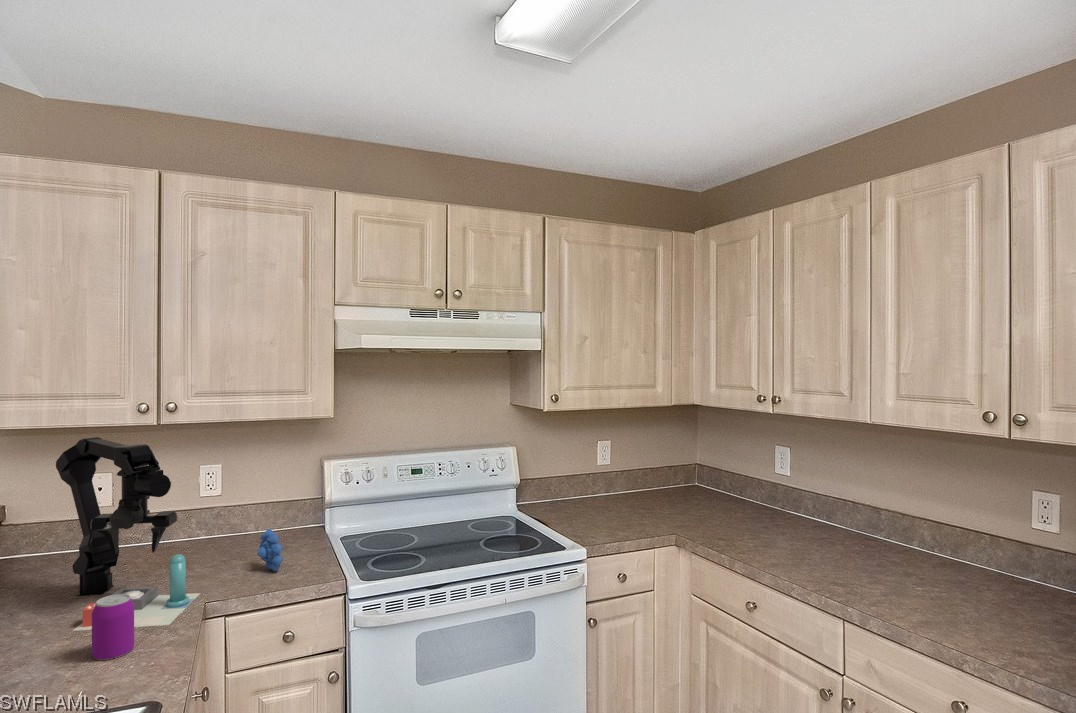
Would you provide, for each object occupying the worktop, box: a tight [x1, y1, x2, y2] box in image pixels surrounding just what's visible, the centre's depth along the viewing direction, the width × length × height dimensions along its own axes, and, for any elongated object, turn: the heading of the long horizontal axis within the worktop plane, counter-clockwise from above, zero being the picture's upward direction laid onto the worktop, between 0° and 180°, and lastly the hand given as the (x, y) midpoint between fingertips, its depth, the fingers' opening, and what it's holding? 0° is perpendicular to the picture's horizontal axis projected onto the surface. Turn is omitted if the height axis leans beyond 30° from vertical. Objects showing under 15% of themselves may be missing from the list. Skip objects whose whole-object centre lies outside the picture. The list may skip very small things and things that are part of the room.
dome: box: [124, 591, 144, 599], centre depth 163 cm, size 6×6×2 cm
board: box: [72, 592, 201, 632], centre depth 159 cm, size 21×20×1 cm
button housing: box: [112, 586, 159, 610], centre depth 163 cm, size 9×9×2 cm
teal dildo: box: [167, 554, 189, 608], centre depth 163 cm, size 5×5×13 cm
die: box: [82, 602, 96, 627], centre depth 152 cm, size 4×4×4 cm
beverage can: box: [91, 593, 135, 661], centre depth 137 cm, size 8×8×12 cm
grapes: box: [256, 528, 284, 572], centre depth 189 cm, size 12×7×12 cm, turn 48°
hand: (134, 552), depth 165 cm, fingers open, 9 cm apart
